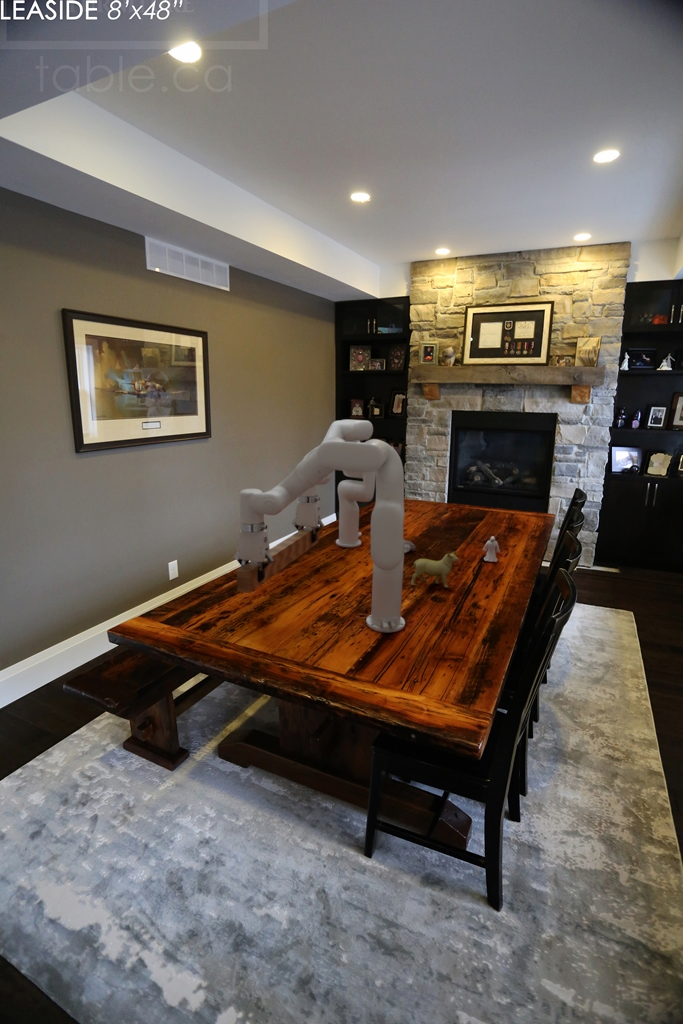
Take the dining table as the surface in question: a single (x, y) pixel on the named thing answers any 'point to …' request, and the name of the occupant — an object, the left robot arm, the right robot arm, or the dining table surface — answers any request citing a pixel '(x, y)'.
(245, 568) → the beam
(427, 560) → the toy
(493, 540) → the figurine
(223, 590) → the dining table surface
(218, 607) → the dining table surface
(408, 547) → the seashell
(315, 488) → the left robot arm
